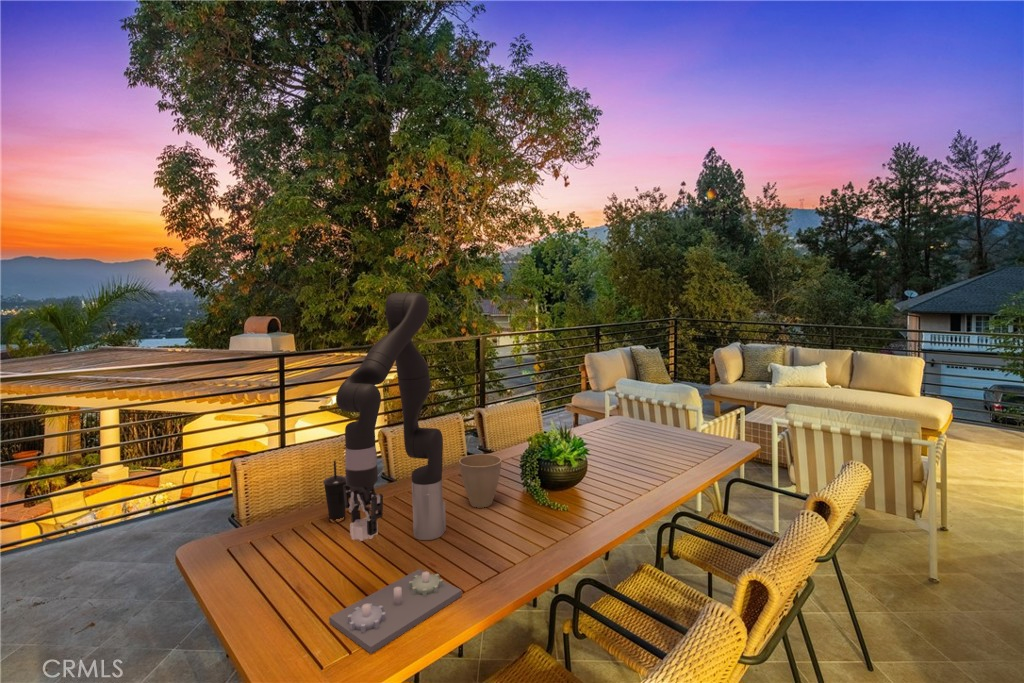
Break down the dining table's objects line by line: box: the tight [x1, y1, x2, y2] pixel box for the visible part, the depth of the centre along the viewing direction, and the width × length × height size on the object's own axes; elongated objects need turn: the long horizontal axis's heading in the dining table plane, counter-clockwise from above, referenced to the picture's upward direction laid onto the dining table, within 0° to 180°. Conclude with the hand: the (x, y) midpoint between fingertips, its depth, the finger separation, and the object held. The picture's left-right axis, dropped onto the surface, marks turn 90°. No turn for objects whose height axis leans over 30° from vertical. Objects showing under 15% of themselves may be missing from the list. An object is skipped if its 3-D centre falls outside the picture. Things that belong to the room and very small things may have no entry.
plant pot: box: [458, 453, 503, 509], centre depth 179 cm, size 15×15×16 cm
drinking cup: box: [322, 460, 347, 520], centre depth 168 cm, size 8×8×20 cm
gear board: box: [328, 568, 463, 655], centre depth 119 cm, size 26×16×5 cm, turn 140°
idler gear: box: [349, 516, 379, 542], centre depth 125 cm, size 6×6×3 cm
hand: (364, 529), depth 125 cm, fingers closed on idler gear, 6 cm apart
